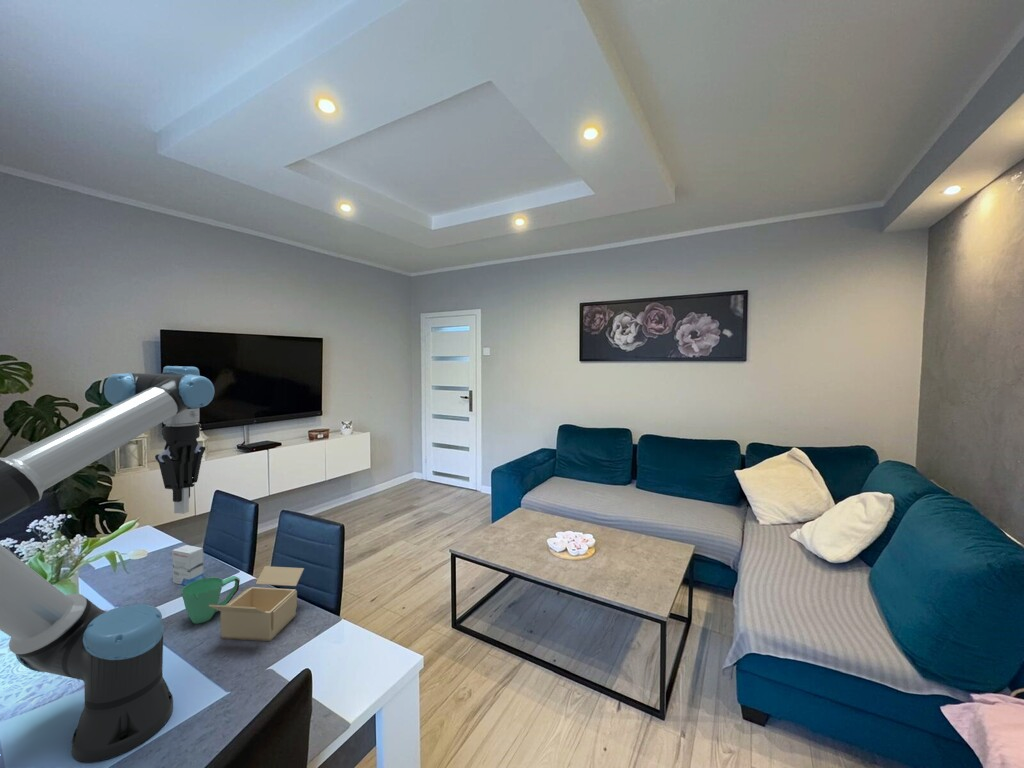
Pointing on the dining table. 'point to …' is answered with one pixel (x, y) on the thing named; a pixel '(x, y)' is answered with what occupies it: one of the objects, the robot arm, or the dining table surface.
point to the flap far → (280, 576)
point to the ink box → (187, 564)
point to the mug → (206, 597)
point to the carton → (259, 614)
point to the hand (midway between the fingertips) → (181, 512)
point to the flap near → (237, 609)
